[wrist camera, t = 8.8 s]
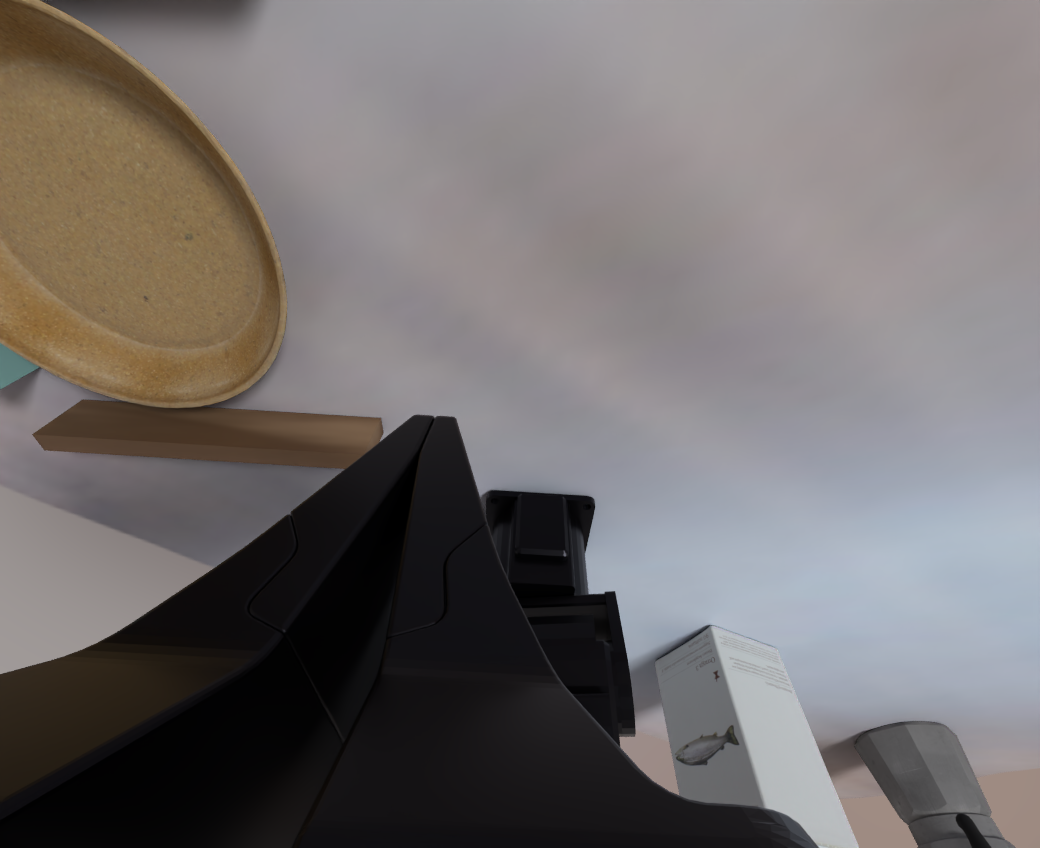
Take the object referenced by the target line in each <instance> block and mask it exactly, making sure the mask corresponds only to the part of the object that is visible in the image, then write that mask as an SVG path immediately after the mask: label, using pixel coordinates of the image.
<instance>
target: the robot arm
mask: <svg viewBox="0 0 1040 848" xmlns="http://www.w3.org/2000/svg"><path fill="white" fill-rule="evenodd" d="M493 498H496V499H493ZM585 504H588V505H585ZM594 510H595V501H594V499H593V498H592V497H589V496H577V495H561V494H545V493H528V492H512V491H496V490H495V491H490V492H489V493H488V494H487V500H486V516H485V513H484V509H483V506H482V503H481V499H480V496H479V493H478V489H477V486H476V483H475V480H474V476H473V473H472V470H471V466H470V463H469V460H468V456H467V453H466V450H465V446H464V443H463V440H462V436H461V433H460V430H459V427H458V423H457V420H456V418H455V417H449V416H437V417H435V418H434V416H430V415H414V416H412V417H411V418H410V419H408V420H407V421H406V422H405V423H403V424H402V425H401V426H400V427H398V428H397V429H396V430H394V431H393V432H392V433H391V434H389V435H388V436H387V437H386V438H384V439H383V440H382V441H380V442H379V443H378V444H377V445H375V446H374V447H373V448H372V449H370V450H369V451H368V452H366V453H365V454H364V455H363V456H361V457H360V458H359V459H358V460H356V461H355V462H354V463H352V464H351V465H350V466H349V467H347V468H346V469H345V470H344V471H342V472H341V473H340V474H338V475H337V476H336V477H335V478H333V479H332V480H331V481H330V482H328V483H327V484H326V485H324V486H323V487H322V488H321V489H319V490H318V491H317V492H316V493H314V494H313V495H312V496H310V497H309V498H308V499H307V500H305V501H304V502H303V503H302V504H300V505H299V506H298V507H296V508H295V509H294V510H293V511H291V515H286V516H285V517H283V518H282V519H281V520H280V521H278V522H277V523H276V524H275V525H273V526H272V527H271V528H269V529H268V530H267V531H265V532H264V533H263V534H261V535H260V536H259V537H257V538H256V539H255V540H253V541H252V542H251V543H249V544H248V545H247V546H245V547H244V548H243V549H241V550H240V551H238V552H237V553H235V554H234V555H232V556H231V557H230V558H228V559H227V560H225V561H224V562H222V563H221V564H219V565H218V566H217V567H215V568H214V569H212V570H211V571H209V572H208V573H206V574H205V575H203V576H202V577H200V578H199V579H197V580H196V581H194V582H193V583H191V584H190V585H188V586H187V587H185V588H184V589H182V590H181V591H179V592H178V593H176V594H175V595H173V596H172V597H170V598H169V599H167V600H166V601H164V602H163V603H161V604H159V605H158V606H157V607H155V608H154V609H152V610H150V611H149V612H147V613H146V614H144V615H143V616H142V617H140V618H139V619H137V620H136V621H134V622H132V623H131V624H129V625H128V626H126V627H124V628H123V629H122V630H120V631H118V632H117V633H115V634H113V635H111V636H109V637H107V638H105V639H104V640H102V641H100V642H98V643H96V644H94V645H91V646H89V647H87V648H85V649H83V650H80V651H78V652H75V653H72V654H69V655H66V656H64V657H61V658H57V659H54V660H51V661H47V662H43V663H40V664H36V665H32V666H29V667H25V668H22V669H18V670H14V671H11V672H7V673H3V674H0V848H819V847H818V846H817V845H816V843H815V842H814V841H813V840H812V838H811V837H810V836H809V835H808V834H807V832H806V831H805V830H804V829H803V828H802V826H801V825H800V824H799V823H798V822H796V821H795V820H793V819H792V818H790V817H789V816H787V815H786V814H783V813H780V812H778V811H775V810H772V809H767V808H762V807H757V806H748V805H738V804H721V803H706V802H700V801H695V800H689V799H686V798H684V797H682V796H679V795H677V794H674V793H672V792H669V791H668V790H666V789H665V788H663V787H662V786H660V785H658V784H657V783H655V782H654V781H652V780H651V779H650V778H649V777H648V776H647V775H646V774H645V773H644V772H642V771H641V770H640V769H639V768H638V767H637V765H636V764H635V763H634V762H633V761H632V760H631V759H630V758H629V757H628V755H627V754H626V753H625V752H624V751H623V750H622V749H621V748H620V740H619V737H629V736H631V737H634V736H635V716H634V705H633V696H632V687H631V680H630V672H629V666H628V659H627V653H626V648H625V642H624V637H623V632H622V626H621V621H620V616H619V610H618V605H617V599H616V594H615V591H612V592H605V594H589V593H588V582H587V572H586V561H585V551H586V547H587V542H588V538H589V533H590V528H591V524H592V519H593V515H594Z"/></svg>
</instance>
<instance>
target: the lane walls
mask: <svg viewBox="0 0 1040 848" xmlns="http://www.w3.org/2000/svg"><path fill="white" fill-rule="evenodd" d="M32 435H33V436H34V437H35V439H36V440H37V441H38V443H39V444H40V445H41V446H42V448H43V449H44V450H48V451H64V452H81V453H97V454H113V455H129V456H146V457H162V458H178V459H194V460H211V461H227V462H243V463H259V464H275V465H292V466H308V467H324V468H340V469H346V468H347V467H349V466H350V465H351V464H352V463H354V462H355V461H356V460H358V459H359V458H360V457H361V456H363V455H364V454H365V453H366V452H368V451H369V450H370V449H372V448H373V447H374V446H375V445H377V444H378V443H379V441H380V439H381V437H382V435H383V427H382V421H381V418H371V417H355V416H339V415H322V414H306V413H290V412H274V411H258V410H241V409H225V408H209V407H191V408H163V407H153V406H146V405H141V404H137V403H128V402H112V401H96V400H81V401H80V402H79V403H77V404H76V405H74V406H73V407H71V408H70V409H68V410H67V411H66V412H64V413H63V414H61V415H60V416H58V417H57V418H55V419H54V420H53V421H51V422H50V423H48V424H47V425H45V426H44V427H42V428H41V429H39V430H38V431H37V432H35V433H34V434H32Z"/></svg>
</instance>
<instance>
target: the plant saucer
mask: <svg viewBox="0 0 1040 848" xmlns="http://www.w3.org/2000/svg"><path fill="white" fill-rule="evenodd" d="M286 318H287V295H286V286H285V280H284V275H283V271H282V266H281V262H280V258H279V255H278V251H277V248H276V245H275V242H274V239H273V236H272V234H271V231H270V229H269V226H268V224H267V221H266V219H265V217H264V214H263V212H262V210H261V208H260V206H259V204H258V202H257V200H256V198H255V196H254V194H253V193H252V191H251V189H250V187H249V186H248V184H247V182H246V181H245V179H244V177H243V176H242V174H241V173H240V171H239V170H238V168H237V167H236V165H235V164H234V162H233V161H232V159H231V158H230V157H229V155H228V154H227V153H226V151H225V150H224V149H223V148H222V146H221V145H220V144H219V142H218V141H217V140H216V138H215V137H214V136H213V135H212V134H211V132H210V131H209V130H208V129H207V128H206V127H205V125H204V124H203V123H202V122H201V121H200V120H199V118H198V117H197V116H196V115H195V114H194V113H193V112H192V111H191V110H190V109H189V108H188V106H187V105H186V104H185V103H184V102H183V101H182V100H181V99H180V98H179V97H178V96H177V95H176V94H175V93H174V92H173V91H172V90H170V89H169V88H168V87H167V86H166V85H165V84H164V83H163V82H162V81H161V80H160V79H158V78H157V77H156V76H155V75H154V74H153V73H151V72H150V71H149V70H148V69H147V68H146V67H144V66H143V65H142V64H141V63H139V62H138V61H137V60H136V59H134V58H133V57H132V56H130V55H129V54H128V53H127V52H125V51H124V50H123V49H122V48H120V47H119V46H117V45H116V44H114V43H113V42H111V41H110V40H108V39H107V38H105V37H104V36H102V35H101V34H100V33H98V32H96V31H95V30H93V29H92V28H90V27H88V26H87V25H85V24H83V23H82V22H80V21H78V20H77V19H75V18H73V17H71V16H70V15H68V14H66V13H64V12H63V11H61V10H59V9H56V8H54V7H52V6H50V5H48V4H46V3H44V2H42V1H40V0H0V343H1V344H2V345H4V346H6V347H7V348H9V349H10V350H12V351H13V352H15V353H16V354H18V355H19V356H21V357H23V358H24V359H26V360H27V361H29V362H31V363H33V364H35V365H37V366H39V367H41V368H43V369H45V370H47V371H49V372H50V373H52V374H54V375H55V376H58V377H60V378H62V379H64V380H66V381H68V382H70V383H73V384H75V385H78V386H80V387H83V388H86V389H88V390H90V391H93V392H96V393H99V394H102V395H105V396H108V397H111V398H115V399H118V400H122V401H127V402H131V403H137V404H141V405H146V406H153V407H163V408H191V407H201V406H204V405H211V404H214V403H218V402H221V401H224V400H227V399H229V398H231V397H234V396H236V395H238V394H240V393H242V392H243V391H245V390H247V389H248V388H250V387H251V386H252V385H253V384H254V383H256V382H257V381H258V380H259V379H260V378H261V377H262V376H263V375H264V374H265V373H266V372H267V370H268V369H269V368H270V366H271V365H272V363H273V361H274V360H275V358H276V356H277V354H278V351H279V349H280V346H281V343H282V340H283V336H284V332H285V326H286Z"/></svg>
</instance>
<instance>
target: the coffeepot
mask: <svg viewBox="0 0 1040 848" xmlns="http://www.w3.org/2000/svg"><path fill="white" fill-rule="evenodd" d="M854 747H855V748H856V750H857V751H858V753H859V755H860V756H861V758H862V759H863V761H864V762H865V764H866V766H867V767H868V769H869V770H870V772H871V773H872V775H873V776H874V778H875V780H876V781H877V783H878V784H879V786H880V787H881V789H882V790H883V792H884V794H885V795H886V797H887V798H888V800H889V801H890V803H891V805H892V806H893V808H894V809H895V811H896V812H897V814H898V815H899V817H900V818H901V819H902V820H903V821H904V822H905V823H907V824H908V825H909V829H910V831H911V833H912V835H913V837H914V839H915V841H916V843H917V845H918V848H1015V846H1013V845H1012V844H1011V843H1010V842H1008V841H1007V840H1005V839H1004V837H1003V836H1002V834H1001V832H1000V831H999V829H998V827H997V826H996V824H995V822H994V821H993V819H992V818H990V815H991V809H990V807H989V805H988V803H987V801H986V798H985V796H984V794H983V792H982V790H981V788H980V785H979V783H978V781H977V779H976V777H975V775H974V772H973V770H972V768H971V766H970V764H969V761H968V759H967V757H966V755H965V753H964V751H963V748H962V746H961V744H960V742H959V740H958V738H957V735H955V734H954V733H953V732H952V731H951V730H950V729H949V728H948V727H947V726H945V725H943V724H939V723H935V722H925V721H912V722H901V723H895V724H890V725H885V726H881V727H878V728H875V729H872V730H870V731H868V732H866V733H864V734H862V735H861V736H860V737H859V738H858V739H857V742H856V744H855V746H854Z"/></svg>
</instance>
